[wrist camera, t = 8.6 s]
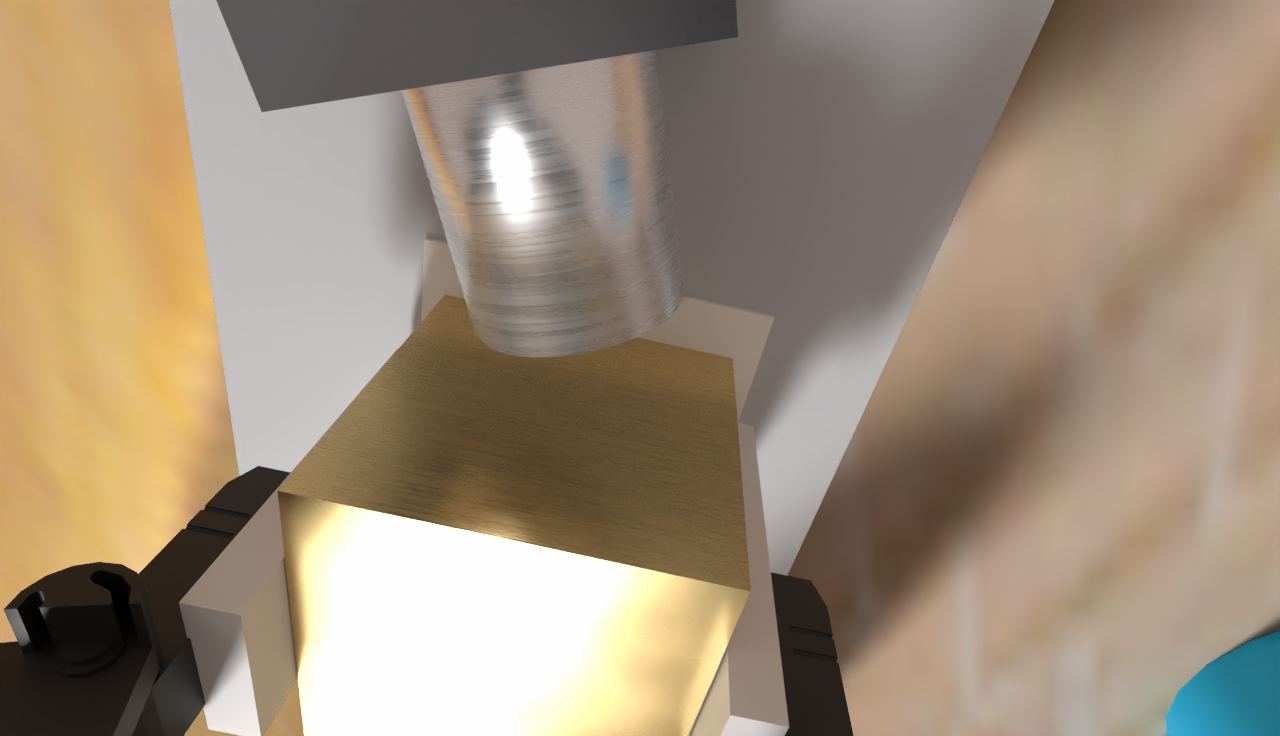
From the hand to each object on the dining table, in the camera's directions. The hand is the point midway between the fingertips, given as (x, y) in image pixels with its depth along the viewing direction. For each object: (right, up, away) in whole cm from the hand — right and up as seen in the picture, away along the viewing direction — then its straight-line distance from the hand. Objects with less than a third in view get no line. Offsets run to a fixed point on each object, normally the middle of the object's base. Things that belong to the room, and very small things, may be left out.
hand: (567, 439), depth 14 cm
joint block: (0, 0, +1) cm, 1 cm away
